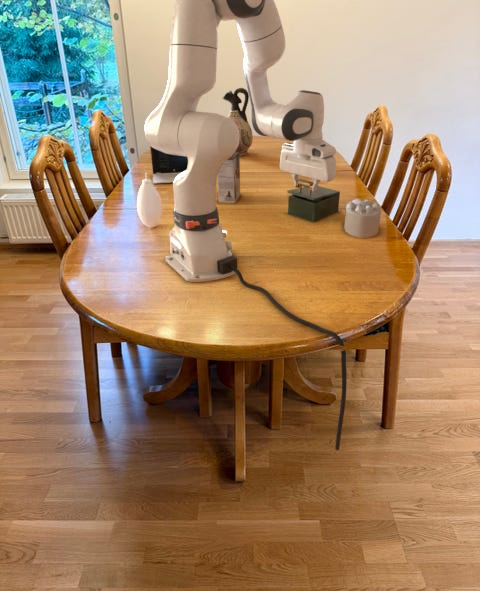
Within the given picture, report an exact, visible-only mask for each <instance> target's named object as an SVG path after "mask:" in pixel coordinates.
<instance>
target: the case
mask: <svg viewBox="0 0 480 591" xmlns="http://www.w3.org/2000/svg"><path fill="white" fill-rule="evenodd" d="M340 196H341V193H340V194H336V195H332V196H328V197H325V198H322V199H323V200H320V201H318V202H315V203H314V202H311V201H307V200H306V199H307V198H304V197H300V196H297V195H293V194H290V195H288V197H287V198H288V202H287V215H291V216H294V217H297V218H300V219H303V220H305V221H309V222H311V223H315V222H317V221H320V220H322V219H324V218H326V217H329V216H331V215H333V214H336V213H338V212H339V209H340V208H339V207H340V206H339V205H340Z"/></svg>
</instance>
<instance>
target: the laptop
mask: <svg viewBox="0 0 480 591" xmlns="http://www.w3.org/2000/svg"><path fill="white" fill-rule="evenodd" d="M149 149H150V150H149V151H150V160H151V168H152V184H153V185H161V184H173V182H174V180H175V178H176V177H177V176H178V175H179V174H180V173H182V172H183V171H185V170H187V167H188V158H187V157H186V156H179V155H172V154H166V153H164V152H161V151H159V150H156V149H154V148H152V147H151V146H150V145H149Z"/></svg>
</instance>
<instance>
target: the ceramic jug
mask: <svg viewBox="0 0 480 591" xmlns="http://www.w3.org/2000/svg"><path fill="white" fill-rule="evenodd" d="M238 94H243V95H244V102H243V106H242V108H240V104H242V99H241V97H239V95H238ZM221 99H222V100H224V101H227V102H228V103H230V105H231V106H230V107H231V108H230V111H229V112H228V114H227V116H226V117H228V118H230V119H232V120H233V121H234V122H235V123H236V125H237V127H238V130H239V144H238V147H237V150H236V151H235V152H237V153H240V154H239V156H240V157H241V156H246V155H247V154H248V150H249V149H250V148H251V146H252V143H253V140H254V139H253V138H254V137H253V136H254V135H253V130H252V127H251V125H250V122H249V121H248V117H247V114H246V111H247V107H248V104H249V101H250V97H249V92H248V89H246V88H244V87H239V88H236V89H235V90H234V92H233V91H232V90H229V91H227V92H226V93H225V94H224V95H223V96H222V98H221Z"/></svg>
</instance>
